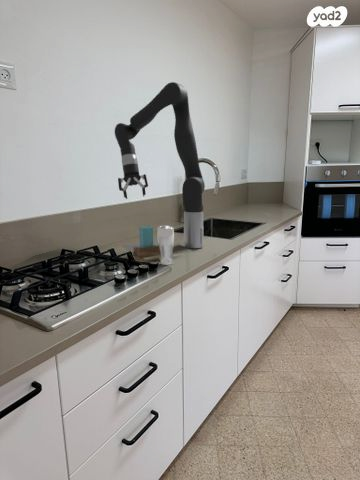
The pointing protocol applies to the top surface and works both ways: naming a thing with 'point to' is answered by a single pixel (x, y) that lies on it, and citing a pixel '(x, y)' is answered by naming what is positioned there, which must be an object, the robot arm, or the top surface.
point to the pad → (131, 246)
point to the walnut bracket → (146, 253)
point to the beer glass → (165, 244)
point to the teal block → (146, 236)
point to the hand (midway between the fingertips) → (135, 197)
